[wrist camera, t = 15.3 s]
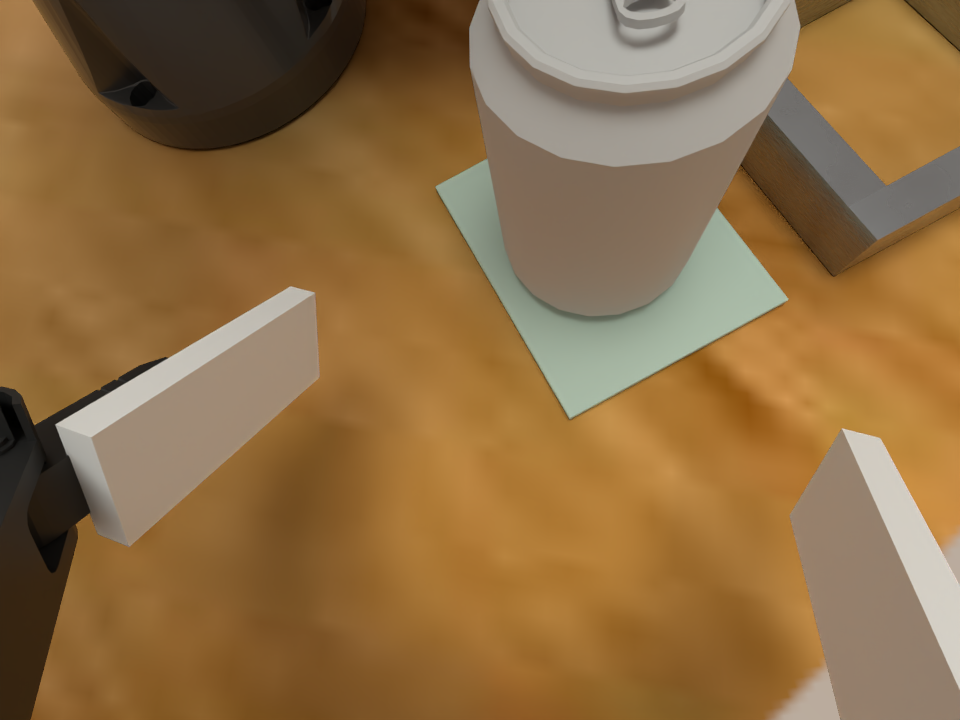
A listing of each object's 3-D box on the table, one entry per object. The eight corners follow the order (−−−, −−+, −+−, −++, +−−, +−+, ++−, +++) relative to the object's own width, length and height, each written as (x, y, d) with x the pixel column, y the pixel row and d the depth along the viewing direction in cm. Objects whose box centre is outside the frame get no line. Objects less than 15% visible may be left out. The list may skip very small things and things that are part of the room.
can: (660, 144, 23) (766, -218, 11) (711, 302, 21) (904, 50, 9) (491, 184, 24) (431, -122, 12) (524, 341, 21) (489, 151, 10)
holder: (662, 69, 24) (677, 11, 21) (891, -55, 24) (936, -129, 22) (833, 276, 21) (877, 240, 18) (1100, 131, 21) (1187, 72, 18)
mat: (437, 191, 24) (435, 186, 24) (621, 92, 24) (621, 85, 24) (569, 419, 21) (569, 418, 20) (784, 303, 21) (788, 299, 20)
